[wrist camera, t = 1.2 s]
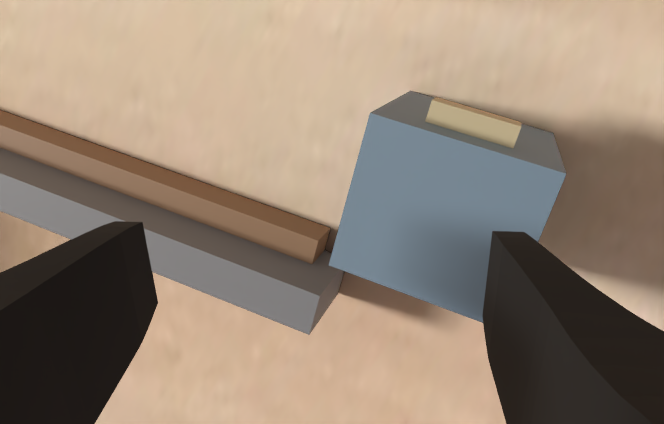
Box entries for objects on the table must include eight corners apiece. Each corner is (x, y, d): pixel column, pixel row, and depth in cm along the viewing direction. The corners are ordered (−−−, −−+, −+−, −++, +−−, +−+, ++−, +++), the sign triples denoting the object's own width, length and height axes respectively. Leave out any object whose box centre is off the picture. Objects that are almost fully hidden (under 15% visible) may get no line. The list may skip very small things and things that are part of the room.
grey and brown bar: (354, 236, 22) (326, 270, 19) (337, 293, 23) (309, 334, 20) (-53, 91, 26) (-131, 99, 23) (-53, 144, 27) (-128, 159, 24)
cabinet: (560, 115, 19) (576, 149, 13) (506, 251, 21) (501, 329, 15) (415, 73, 20) (375, 89, 14) (376, 206, 22) (328, 265, 16)
